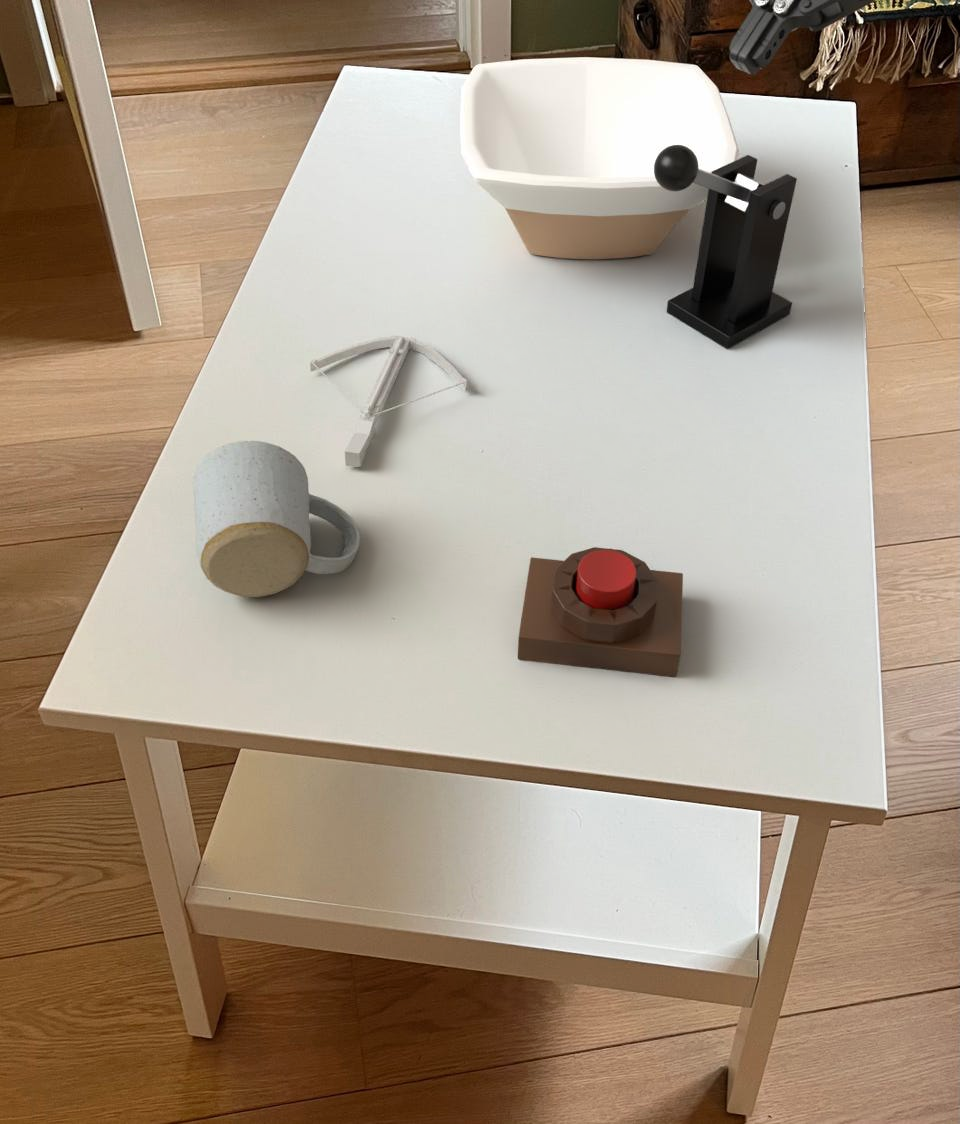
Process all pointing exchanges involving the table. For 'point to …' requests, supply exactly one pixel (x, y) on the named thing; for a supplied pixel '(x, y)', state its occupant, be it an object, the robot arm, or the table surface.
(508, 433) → the table surface
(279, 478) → the ceramic mug
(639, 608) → the button block
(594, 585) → the button
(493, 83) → the bowl
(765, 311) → the bracket
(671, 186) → the lever
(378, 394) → the crossbow
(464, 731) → the table surface
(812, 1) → the robot arm
